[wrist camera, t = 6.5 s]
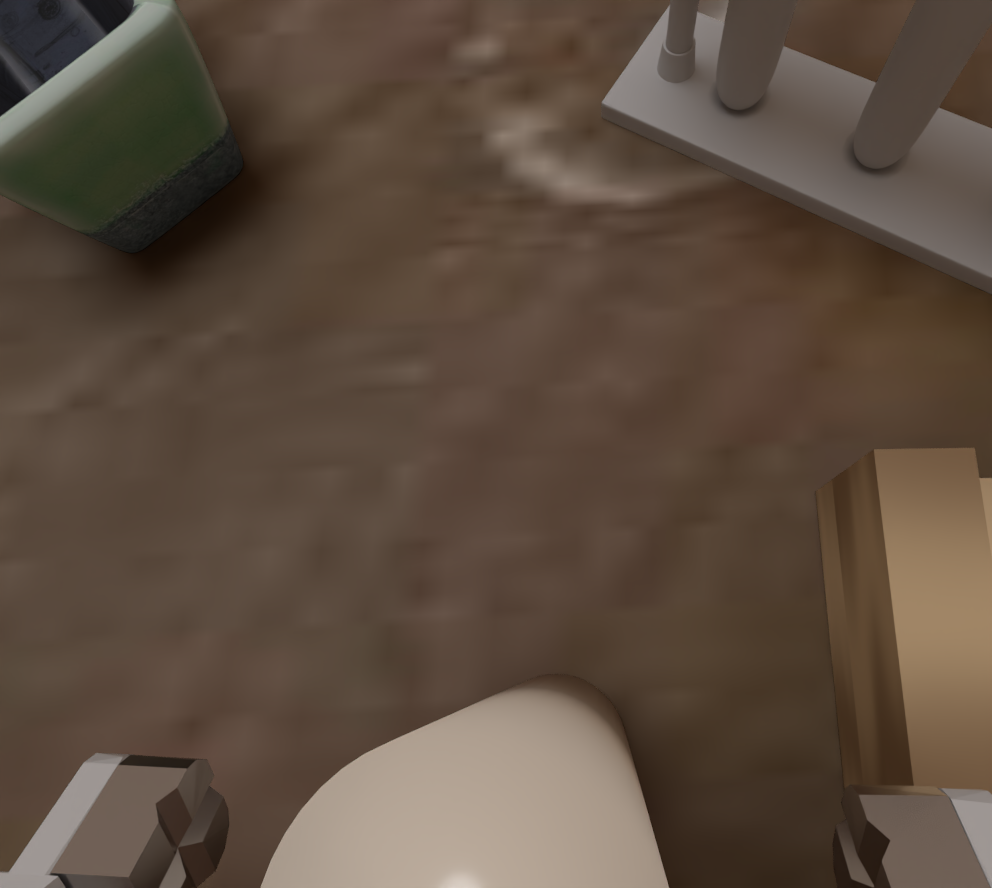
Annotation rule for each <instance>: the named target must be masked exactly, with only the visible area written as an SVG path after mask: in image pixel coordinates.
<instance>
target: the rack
mask: <svg viewBox="0 0 992 888" xmlns="http://www.w3.org/2000/svg"><path fill="white" fill-rule="evenodd" d="M816 502H817V512H818V523H819V533H820V544H821V554H822V564H823V575H824V585H825V595H826V606H827V616H828V627H829V637H830V647H831V658H832V668H833V679H834V689H835V699H836V710H837V720H838V731H839V741H840V751H841V762H842V772H843V782H844V789H845V788H846V787H847V786H848V785H850V784H855V785H896V786H935V787H936V788H952V789H982V790H987V791H989V792H990V793H991V794H992V478H979V473H978V466H977V460H976V453H975V448H929V449H874V450H872V451H871V452H869V453H868V454H867V455H865V456H864V457H863V458H861V459H860V460H858V461H857V462H856V463H854V464H853V465H852V466H850V467H849V468H847V469H846V470H845V471H843V472H842V473H840V474H839V475H838V476H836V477H835V478H834V479H832V480H831V481H829V482H828V483H827V484H825V485H824V486H823V487H821V488H820V489H818V490H817V491H816Z"/></svg>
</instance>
